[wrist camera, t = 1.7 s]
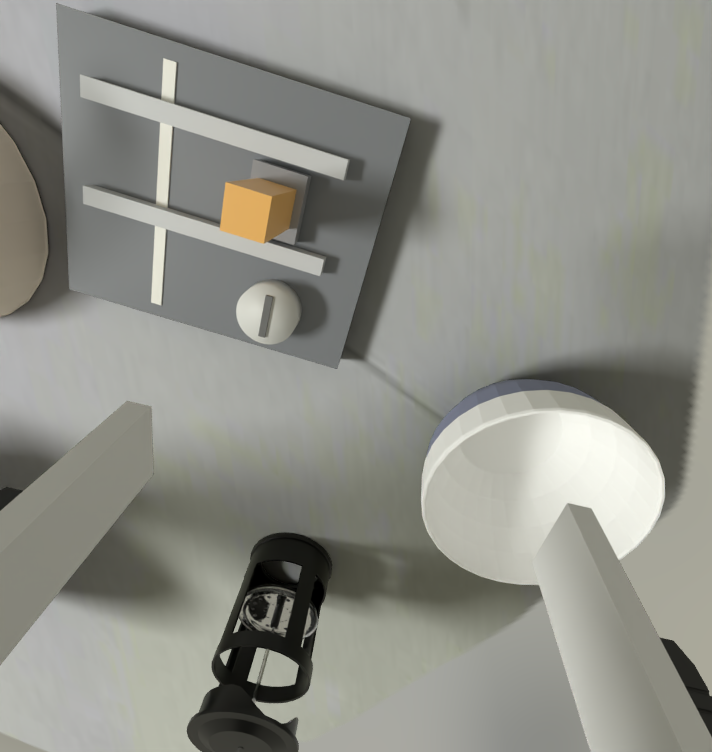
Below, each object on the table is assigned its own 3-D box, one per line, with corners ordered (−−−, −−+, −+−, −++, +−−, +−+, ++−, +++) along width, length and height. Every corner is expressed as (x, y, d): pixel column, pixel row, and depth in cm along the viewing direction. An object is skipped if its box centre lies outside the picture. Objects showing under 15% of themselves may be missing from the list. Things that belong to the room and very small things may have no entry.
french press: (287, 516, 45) (191, 811, 25) (353, 561, 47) (315, 867, 27) (228, 566, 50) (107, 850, 29) (290, 606, 52) (218, 894, 31)
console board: (86, 282, 35) (48, 297, 31) (79, 13, 27) (26, -11, 23) (340, 358, 36) (333, 381, 32) (410, 121, 28) (411, 115, 24)
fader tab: (248, 227, 30) (208, 244, 24) (258, 159, 28) (217, 158, 21) (297, 242, 30) (270, 263, 24) (311, 176, 28) (285, 180, 22)
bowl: (584, 318, 32) (649, 375, 24) (618, 473, 38) (679, 562, 30) (390, 383, 37) (387, 451, 28) (448, 513, 43) (460, 601, 34)
